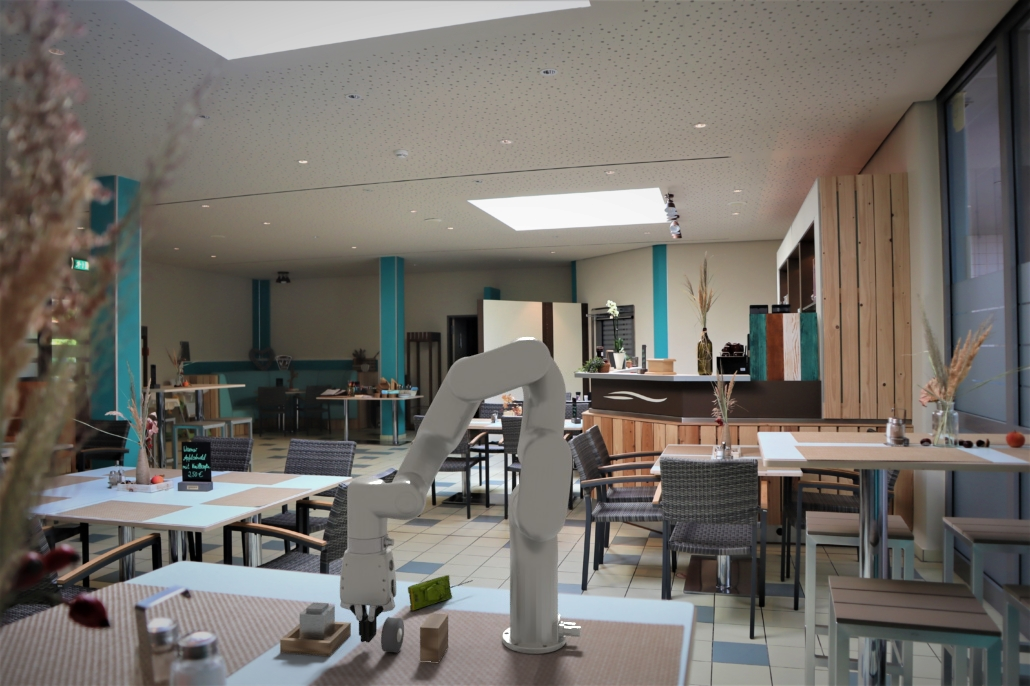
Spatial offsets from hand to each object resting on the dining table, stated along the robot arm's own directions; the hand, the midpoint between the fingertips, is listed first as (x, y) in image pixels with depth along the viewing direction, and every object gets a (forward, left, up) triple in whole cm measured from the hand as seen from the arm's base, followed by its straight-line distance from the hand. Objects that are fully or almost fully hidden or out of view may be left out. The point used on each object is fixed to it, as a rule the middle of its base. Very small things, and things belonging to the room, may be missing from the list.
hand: (367, 639), depth 134 cm
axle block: (-13, 0, -2) cm, 13 cm away
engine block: (+11, -1, -1) cm, 11 cm away
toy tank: (-8, -27, -2) cm, 28 cm away
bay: (+11, -1, -2) cm, 11 cm away
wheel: (-5, 0, -2) cm, 5 cm away
